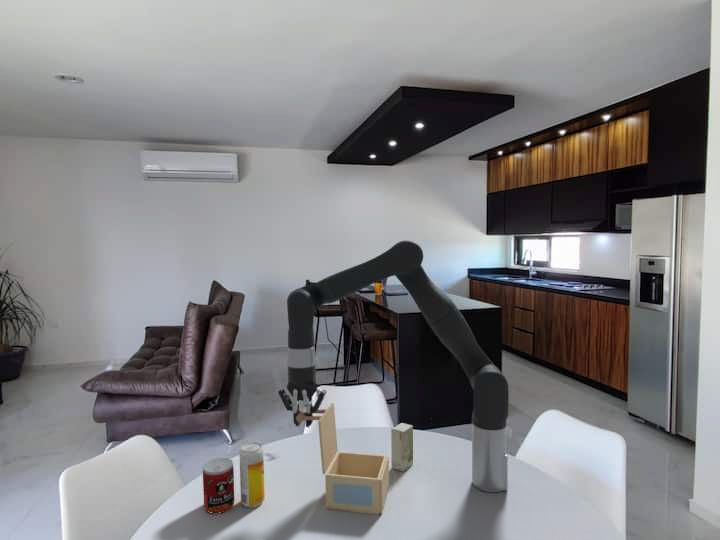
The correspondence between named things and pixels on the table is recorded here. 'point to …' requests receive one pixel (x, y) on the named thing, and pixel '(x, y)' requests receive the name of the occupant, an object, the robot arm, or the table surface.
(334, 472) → the wooden box
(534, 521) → the table surface
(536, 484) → the table surface
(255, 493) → the beer can
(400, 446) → the skincare box
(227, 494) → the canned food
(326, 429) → the flap
